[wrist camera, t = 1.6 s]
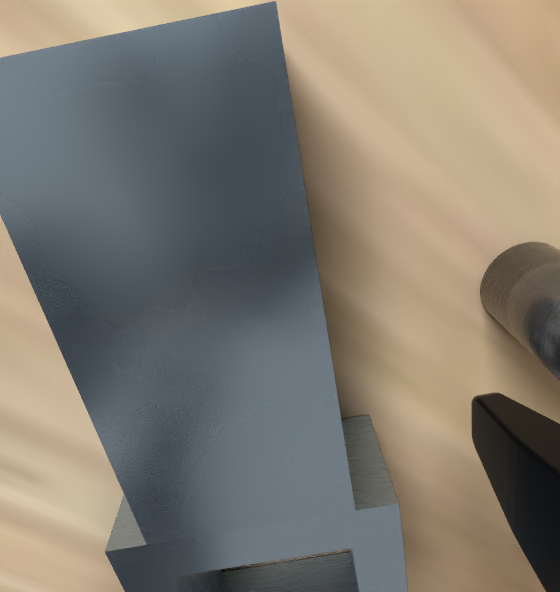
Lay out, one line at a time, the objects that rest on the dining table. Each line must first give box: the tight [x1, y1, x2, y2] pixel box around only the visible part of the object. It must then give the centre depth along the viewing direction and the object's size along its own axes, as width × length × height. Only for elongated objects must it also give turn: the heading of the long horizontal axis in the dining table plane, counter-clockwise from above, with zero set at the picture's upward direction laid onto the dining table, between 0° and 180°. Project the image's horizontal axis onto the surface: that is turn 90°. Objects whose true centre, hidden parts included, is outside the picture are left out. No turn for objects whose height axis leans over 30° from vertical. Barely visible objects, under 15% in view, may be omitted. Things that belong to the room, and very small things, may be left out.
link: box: [0, 1, 408, 592], centre depth 10 cm, size 15×6×3 cm, turn 10°
